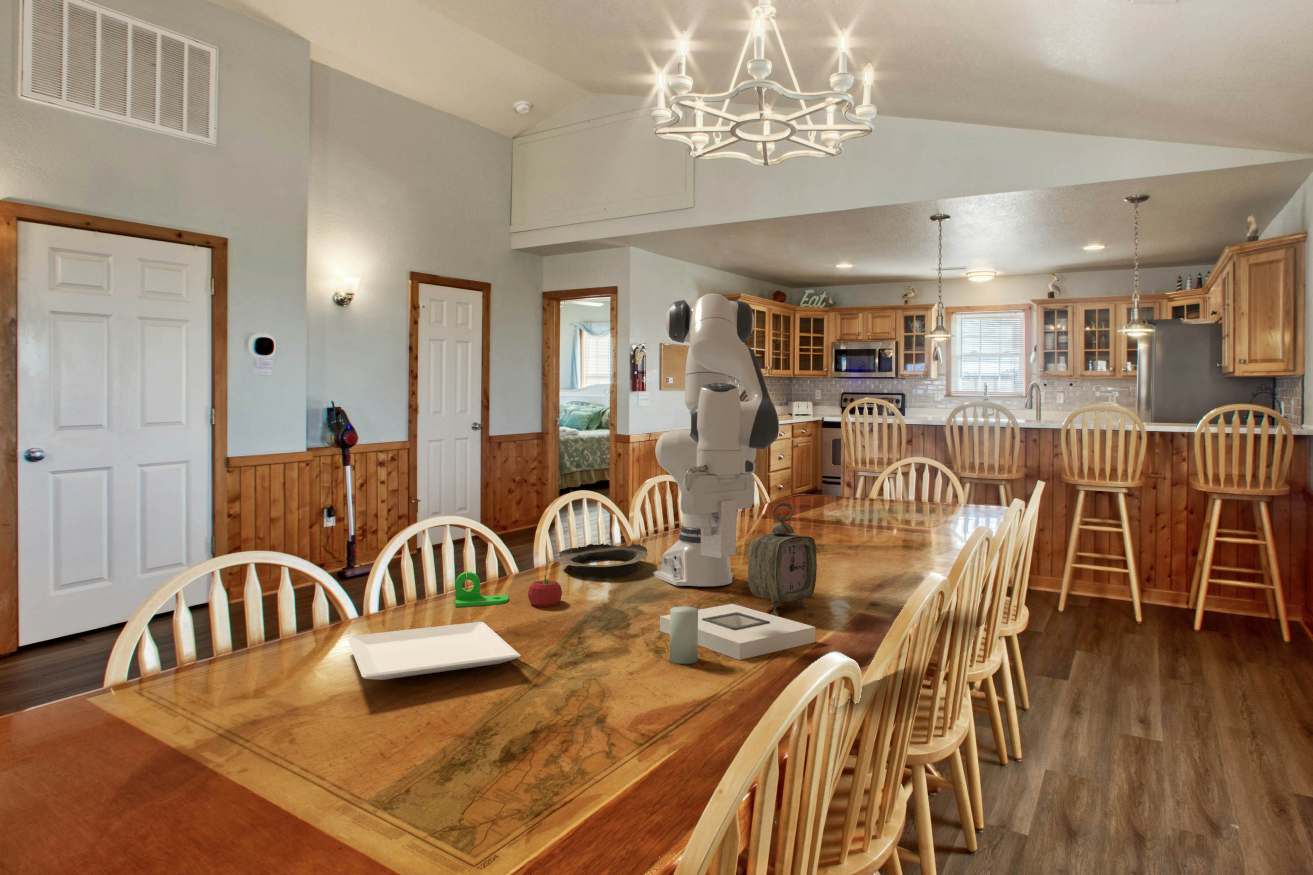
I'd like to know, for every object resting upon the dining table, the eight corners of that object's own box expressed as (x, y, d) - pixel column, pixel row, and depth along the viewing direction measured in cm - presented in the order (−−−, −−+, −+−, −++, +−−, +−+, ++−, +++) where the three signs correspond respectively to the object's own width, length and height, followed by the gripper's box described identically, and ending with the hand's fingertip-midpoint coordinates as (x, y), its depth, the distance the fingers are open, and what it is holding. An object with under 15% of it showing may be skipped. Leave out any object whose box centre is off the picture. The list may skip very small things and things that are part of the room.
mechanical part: (455, 611, 170) (455, 576, 170) (455, 605, 176) (455, 571, 176) (509, 609, 173) (509, 574, 173) (507, 603, 179) (507, 569, 179)
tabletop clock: (775, 621, 163) (776, 506, 163) (744, 613, 170) (745, 503, 169) (816, 611, 172) (817, 502, 172) (785, 604, 179) (786, 499, 179)
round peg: (664, 658, 136) (664, 608, 136) (685, 653, 139) (686, 605, 139) (681, 665, 132) (681, 614, 132) (703, 660, 135) (703, 610, 135)
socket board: (659, 630, 154) (659, 614, 154) (732, 617, 166) (732, 602, 166) (739, 659, 135) (739, 641, 135) (815, 642, 147) (815, 625, 147)
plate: (362, 688, 120) (362, 675, 120) (346, 646, 143) (346, 635, 143) (521, 666, 132) (521, 654, 132) (483, 630, 155) (483, 620, 155)
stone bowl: (608, 570, 223) (608, 538, 223) (668, 582, 205) (668, 548, 205) (539, 581, 205) (539, 547, 205) (598, 596, 187) (599, 558, 187)
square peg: (700, 554, 149) (700, 499, 149) (715, 551, 153) (716, 497, 153) (720, 558, 146) (721, 501, 146) (735, 554, 150) (736, 499, 150)
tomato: (565, 604, 177) (565, 572, 177) (558, 612, 169) (558, 578, 169) (532, 603, 178) (532, 571, 178) (523, 611, 170) (523, 577, 170)
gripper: (699, 467, 139) (698, 541, 140) (760, 463, 155) (759, 530, 155) (673, 466, 144) (672, 538, 144) (735, 462, 159) (734, 527, 159)
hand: (718, 534), depth 150 cm, fingers closed on square peg, 5 cm apart
